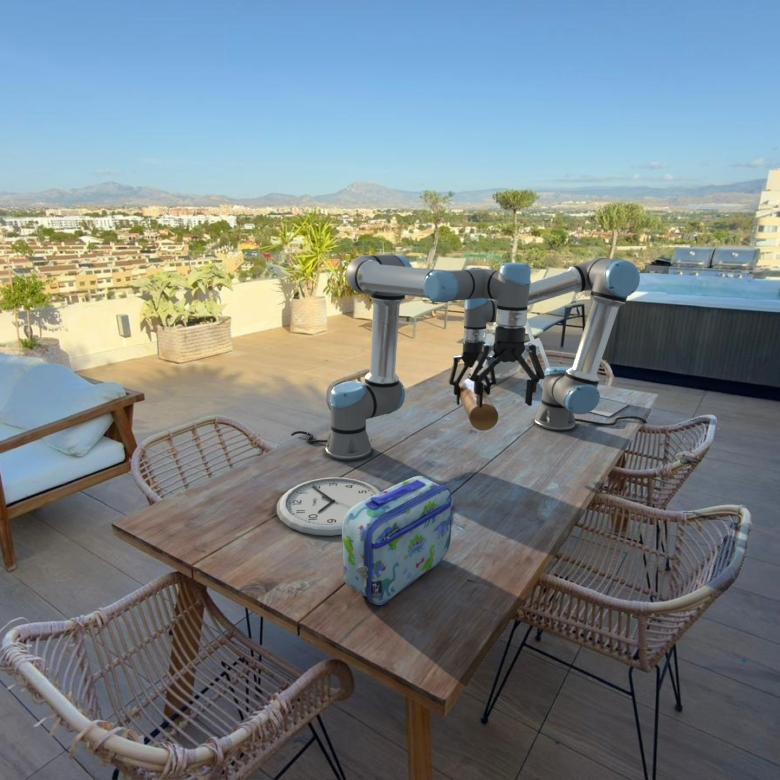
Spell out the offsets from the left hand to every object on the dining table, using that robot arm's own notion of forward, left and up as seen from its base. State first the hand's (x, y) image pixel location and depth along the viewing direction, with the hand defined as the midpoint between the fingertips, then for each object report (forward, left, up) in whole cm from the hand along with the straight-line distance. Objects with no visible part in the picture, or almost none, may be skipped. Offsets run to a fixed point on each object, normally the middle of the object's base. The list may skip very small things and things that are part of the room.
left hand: (503, 405), depth 139 cm
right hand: (-23, +36, -14) cm, 44 cm away
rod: (-18, +26, -14) cm, 35 cm away
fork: (-9, -16, -28) cm, 34 cm away
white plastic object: (-35, +114, -28) cm, 123 cm away
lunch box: (-6, -44, -28) cm, 53 cm away
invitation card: (+11, +103, -28) cm, 107 cm away
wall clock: (-37, -27, -28) cm, 54 cm away
